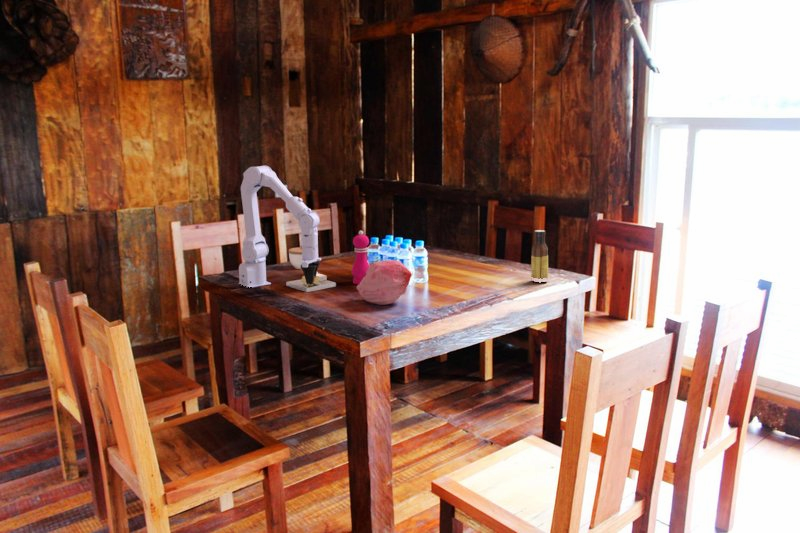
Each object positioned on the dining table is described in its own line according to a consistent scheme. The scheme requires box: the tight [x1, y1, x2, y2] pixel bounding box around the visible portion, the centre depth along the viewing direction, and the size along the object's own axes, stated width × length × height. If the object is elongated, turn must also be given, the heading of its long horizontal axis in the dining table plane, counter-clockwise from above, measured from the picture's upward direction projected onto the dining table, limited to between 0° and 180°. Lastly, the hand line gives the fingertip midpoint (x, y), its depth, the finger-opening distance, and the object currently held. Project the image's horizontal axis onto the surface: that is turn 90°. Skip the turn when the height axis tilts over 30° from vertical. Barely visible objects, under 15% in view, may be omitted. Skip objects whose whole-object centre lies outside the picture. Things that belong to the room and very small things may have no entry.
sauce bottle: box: [530, 229, 549, 279], centre depth 260 cm, size 7×6×20 cm
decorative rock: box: [356, 259, 412, 306], centre depth 229 cm, size 19×14×15 cm
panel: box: [285, 278, 337, 293], centre depth 254 cm, size 13×13×2 cm
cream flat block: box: [316, 271, 328, 281], centre depth 256 cm, size 7×5×2 cm
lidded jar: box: [288, 244, 302, 270], centre depth 285 cm, size 11×11×9 cm
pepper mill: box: [351, 230, 370, 285], centre depth 257 cm, size 7×7×20 cm
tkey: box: [301, 275, 320, 287], centre depth 249 cm, size 6×4×5 cm, turn 82°
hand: (310, 282), depth 249 cm, fingers closed on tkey, 2 cm apart
